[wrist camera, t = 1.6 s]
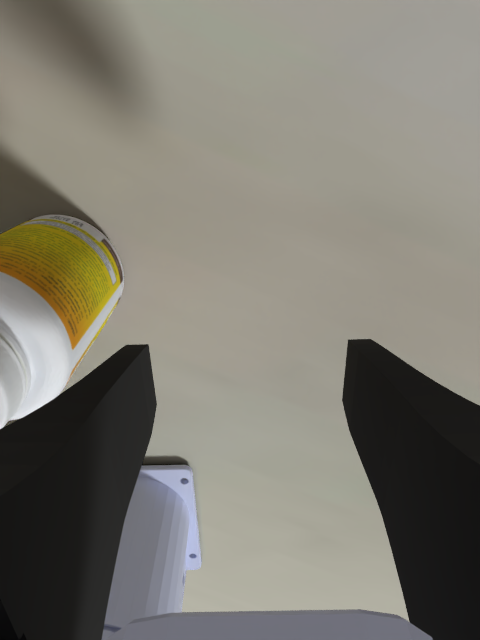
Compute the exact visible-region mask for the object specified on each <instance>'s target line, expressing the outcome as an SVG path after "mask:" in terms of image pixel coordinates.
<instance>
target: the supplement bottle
mask: <svg viewBox="0 0 480 640" xmlns="http://www.w3.org/2000/svg"><path fill="white" fill-rule="evenodd" d="M123 286H124V273H123V267H122V263H121V260H120V258H119V255H118V253H117V251H116V250H115V248H114V246H113V245H112V243H111V242H110V241H109V240H108V239H107V237H106V236H105V235H104V234H102V233H101V232H100V231H99V230H98V229H96V228H95V227H93V226H92V225H90V224H88V223H86V222H85V221H82V220H80V219H77V218H75V217H71V216H66V215H44V216H39V217H36V218H33V219H30V220H28V221H26V222H24V223H21V224H19V225H18V226H16V227H14V228H12V229H10V230H8V231H6V232H4V233H2V234H0V429H1V428H3V427H4V426H5V425H6V423H7V422H8V421H9V420H15V419H20V418H23V417H24V416H26V415H28V414H30V413H31V412H33V411H35V410H37V409H38V408H40V407H42V406H43V405H45V404H47V403H48V402H50V401H51V400H53V399H54V398H56V397H57V396H58V395H59V394H60V392H61V391H62V390H63V389H64V387H65V386H66V384H67V383H68V381H69V379H70V378H71V376H72V375H73V373H74V372H75V370H76V369H77V367H78V365H79V364H80V362H81V361H82V359H83V358H84V356H85V355H86V353H87V351H88V350H89V348H90V347H91V345H92V344H93V342H94V341H95V339H96V338H97V336H98V334H99V333H100V331H101V330H102V328H103V327H104V325H105V323H106V322H107V320H108V319H109V317H110V315H111V314H112V312H113V311H114V309H115V307H116V305H117V304H118V302H119V300H120V297H121V295H122V291H123Z"/></svg>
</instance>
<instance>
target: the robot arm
mask: <svg viewBox="0 0 480 640" xmlns="http://www.w3.org/2000/svg"><path fill="white" fill-rule="evenodd" d="M342 401H343V405H344V410H345V414H346V418H347V422H348V426H349V430H350V433H351V436H352V438H353V441H354V444H355V446H356V449H357V451H358V454H359V457H360V459H361V462H362V464H363V467H364V469H365V472H366V474H367V477H368V479H369V482H370V484H371V487H372V489H373V492H374V494H375V497H376V500H377V502H378V505H379V508H380V511H381V514H382V517H383V521H384V524H385V528H386V531H387V535H388V539H389V542H390V546H391V549H392V553H393V557H394V561H395V565H396V568H397V572H398V576H399V580H400V584H401V588H402V592H403V596H404V600H405V604H406V608H407V613H408V617H409V621H410V622H408V621H407V620H405V619H403V618H402V617H400V616H398V615H394V614H387V613H380V612H373V611H367V610H360V609H358V610H299V611H239V612H182V604H183V595H184V587H185V578H186V570H196V569H199V568H200V567H201V562H202V559H201V550H200V540H199V530H198V520H197V511H196V501H195V491H194V481H193V472H192V468H191V467H190V466H187V465H149V466H142V463H143V460H144V457H145V454H146V451H147V447H148V444H149V441H150V438H151V434H152V429H153V423H154V418H155V412H156V405H157V403H156V396H155V388H154V381H153V374H152V367H151V360H150V353H149V346H148V344H146V345H126V346H124V347H123V348H121V349H120V350H119V351H117V352H116V353H115V354H114V355H112V356H111V357H110V358H108V359H107V360H106V361H105V362H103V363H102V364H101V365H100V366H98V367H97V368H96V369H94V370H93V371H92V372H91V373H89V374H88V375H87V376H85V377H84V378H83V379H81V380H80V381H79V382H77V383H76V384H74V385H73V386H71V387H70V388H69V389H67V390H66V391H64V392H63V393H61V394H60V395H59V396H57V397H56V398H54V399H53V400H51V401H50V402H48V403H47V404H45V405H43V406H42V407H40V408H38V409H37V410H35V411H33V412H31V413H30V414H28V415H26V416H24V417H23V418H21V419H19V420H17V421H15V422H14V423H12V424H10V425H8V426H6V427H4V428H1V429H0V640H480V406H479V405H477V404H475V403H473V402H471V401H469V400H467V399H465V398H463V397H461V396H459V395H457V394H456V393H454V392H452V391H450V390H449V389H447V388H445V387H444V386H442V385H440V384H438V383H437V382H435V381H433V380H432V379H430V378H429V377H427V376H425V375H424V374H422V373H421V372H419V371H418V370H416V369H415V368H413V367H412V366H410V365H409V364H407V363H406V362H404V361H403V360H401V359H400V358H398V357H397V356H395V355H394V354H393V353H391V352H390V351H388V350H387V349H385V348H384V347H382V346H381V345H379V344H378V343H376V342H374V341H373V340H371V339H357V340H348V347H347V357H346V367H345V378H344V388H343V398H342ZM182 478H186V479H182Z"/></svg>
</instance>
